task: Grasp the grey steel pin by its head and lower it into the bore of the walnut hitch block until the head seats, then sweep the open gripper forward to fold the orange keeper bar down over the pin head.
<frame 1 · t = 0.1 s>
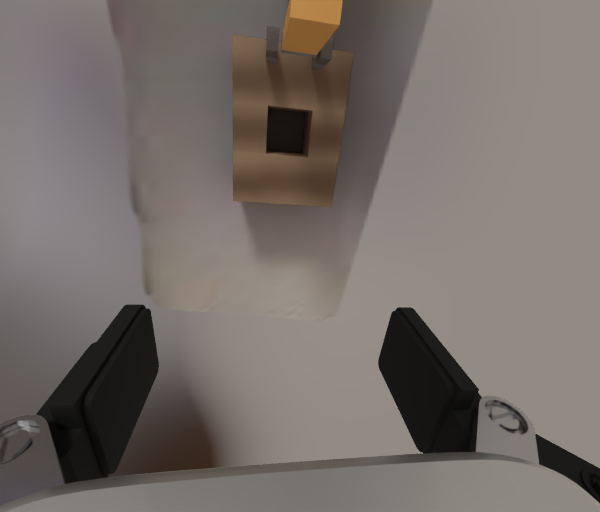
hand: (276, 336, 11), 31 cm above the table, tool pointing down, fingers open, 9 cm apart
keeper bar: (305, 31, 20), point 14 cm above the table, hinge at 90.0°
hitch block: (285, 131, 36), on the table
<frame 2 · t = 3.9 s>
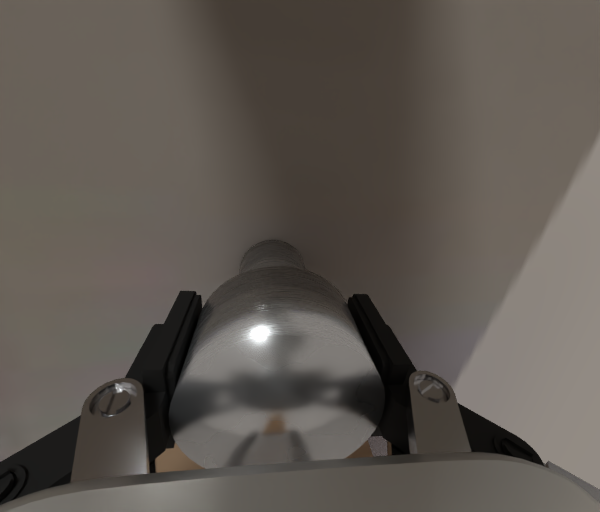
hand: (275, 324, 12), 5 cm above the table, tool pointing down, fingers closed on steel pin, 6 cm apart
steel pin: (272, 269, 16), on the table, touching gripper
hitch block: (261, 452, 23), on the table
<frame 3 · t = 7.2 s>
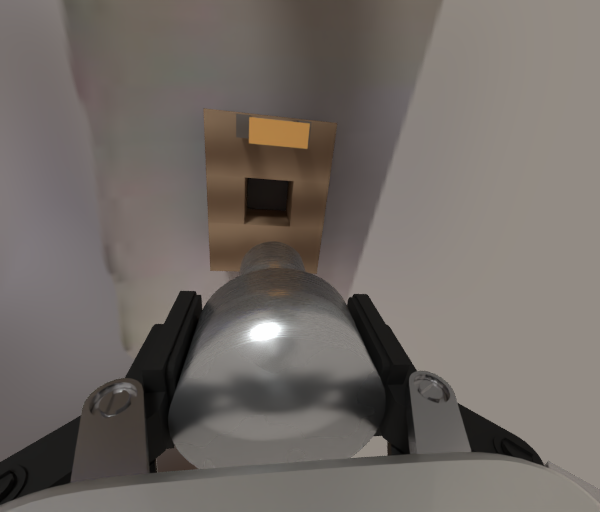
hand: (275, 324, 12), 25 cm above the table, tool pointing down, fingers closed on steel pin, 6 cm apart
keeper bar: (275, 130, 18), point 14 cm above the table, hinge at 90.0°
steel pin: (272, 270, 16), point 20 cm above the table, touching gripper
hitch block: (267, 190, 34), on the table
when the fingers open (6 cm above the table, at t = 10.5 s): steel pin stays where it is, resting on hitch block.
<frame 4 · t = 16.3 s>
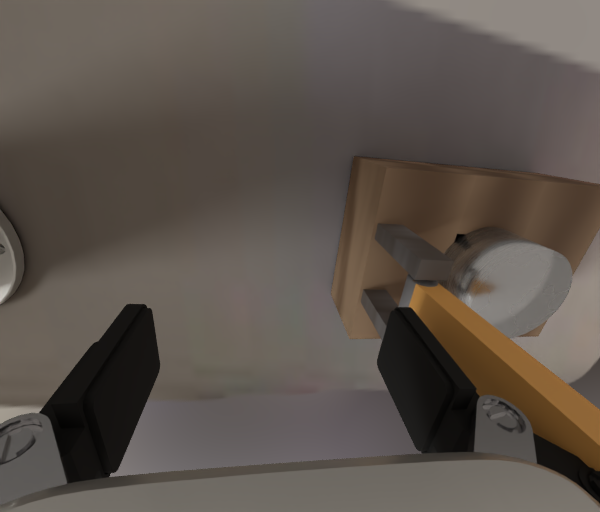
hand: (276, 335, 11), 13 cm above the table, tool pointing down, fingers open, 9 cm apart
keeper bar: (473, 364, 11), point 14 cm above the table, hinge at 84.9°, touching gripper
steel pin: (432, 239, 24), point 1 cm above the table, touching hitch block
hitch block: (429, 236, 24), on the table
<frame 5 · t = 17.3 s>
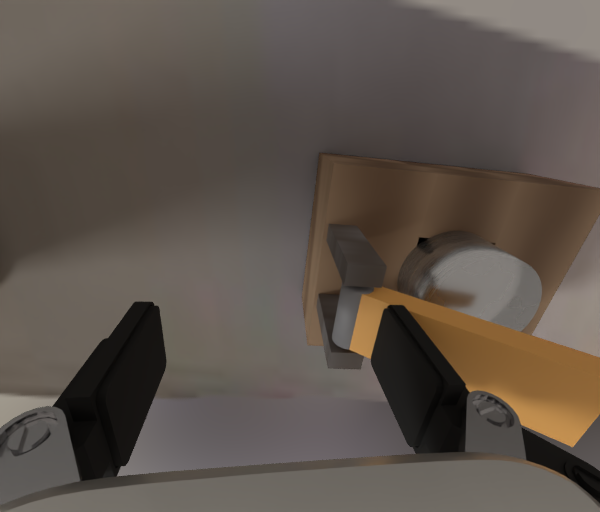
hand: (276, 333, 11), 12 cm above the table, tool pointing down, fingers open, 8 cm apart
keeper bar: (443, 348, 11), point 12 cm above the table, hinge at 31.8°, touching gripper
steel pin: (409, 242, 22), point 1 cm above the table, touching hitch block
hitch block: (406, 240, 23), on the table
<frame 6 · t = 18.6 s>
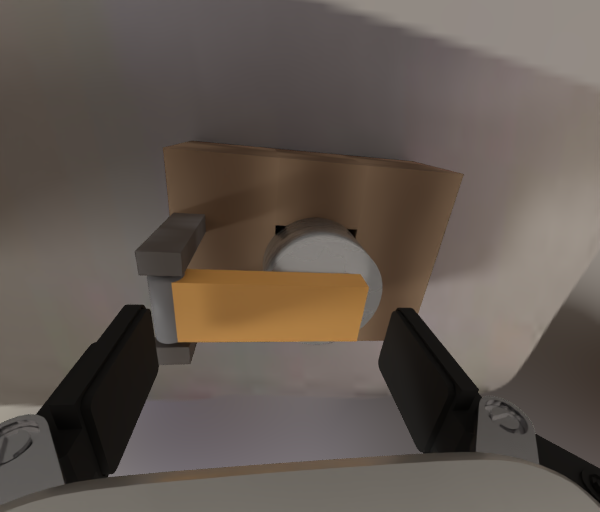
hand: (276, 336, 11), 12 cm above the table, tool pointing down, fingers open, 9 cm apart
keeper bar: (261, 306, 13), point 10 cm above the table, hinge at 0.4°
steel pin: (301, 233, 22), point 1 cm above the table, touching hitch block
hitch block: (300, 230, 23), on the table
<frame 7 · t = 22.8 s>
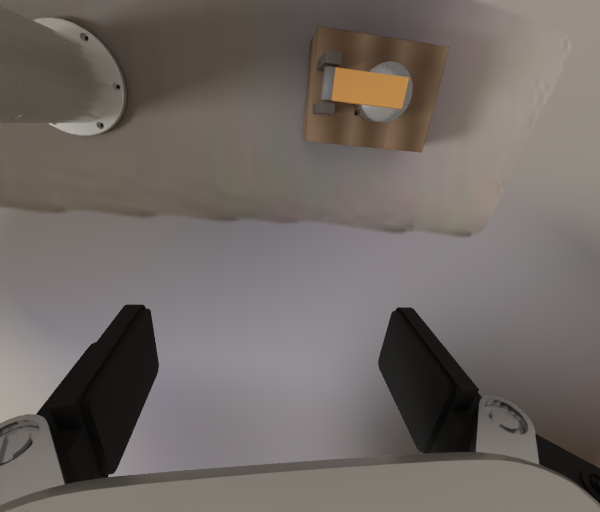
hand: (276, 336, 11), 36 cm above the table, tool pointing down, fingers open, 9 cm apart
keeper bar: (363, 88, 31), point 10 cm above the table, hinge at 0.6°
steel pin: (362, 99, 40), point 1 cm above the table, touching hitch block
hitch block: (360, 99, 41), on the table
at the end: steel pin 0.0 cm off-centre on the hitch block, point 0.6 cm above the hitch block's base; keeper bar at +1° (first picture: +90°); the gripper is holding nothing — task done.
